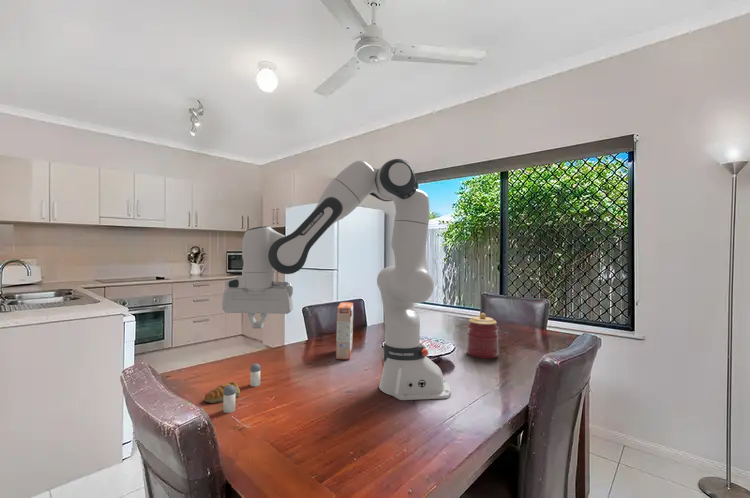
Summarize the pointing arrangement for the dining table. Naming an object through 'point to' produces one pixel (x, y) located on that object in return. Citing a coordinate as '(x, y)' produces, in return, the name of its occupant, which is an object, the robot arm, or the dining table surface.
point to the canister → (482, 337)
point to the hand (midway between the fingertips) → (257, 328)
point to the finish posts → (231, 390)
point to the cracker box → (344, 330)
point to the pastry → (220, 393)
